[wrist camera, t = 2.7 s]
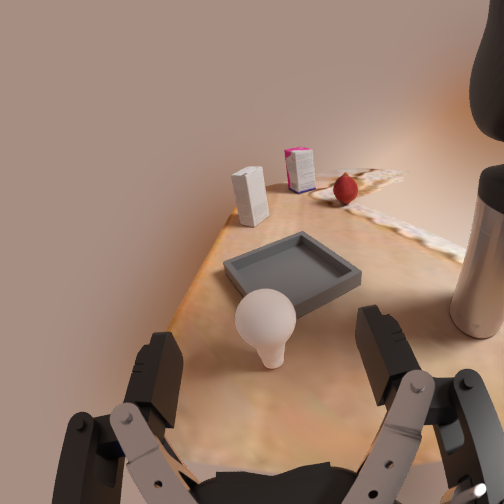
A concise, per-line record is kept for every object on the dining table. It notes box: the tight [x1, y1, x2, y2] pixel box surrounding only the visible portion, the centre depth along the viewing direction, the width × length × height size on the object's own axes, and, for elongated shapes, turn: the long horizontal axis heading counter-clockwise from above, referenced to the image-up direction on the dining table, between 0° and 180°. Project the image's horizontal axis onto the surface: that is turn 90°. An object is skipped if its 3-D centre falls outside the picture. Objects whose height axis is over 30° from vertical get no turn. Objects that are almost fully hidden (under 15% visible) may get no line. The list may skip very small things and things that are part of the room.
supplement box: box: [285, 147, 316, 194], centre depth 76 cm, size 6×6×12 cm
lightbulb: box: [235, 289, 296, 369], centre depth 30 cm, size 6×6×11 cm
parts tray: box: [223, 231, 362, 319], centre depth 45 cm, size 16×16×2 cm
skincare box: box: [231, 167, 269, 227], centre depth 63 cm, size 6×4×12 cm
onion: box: [333, 172, 358, 204], centre depth 64 cm, size 6×6×8 cm
